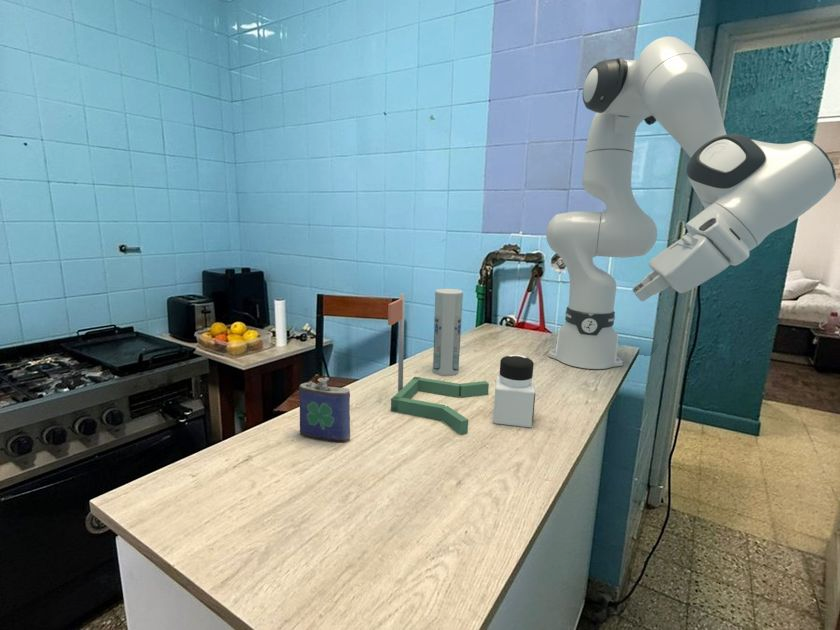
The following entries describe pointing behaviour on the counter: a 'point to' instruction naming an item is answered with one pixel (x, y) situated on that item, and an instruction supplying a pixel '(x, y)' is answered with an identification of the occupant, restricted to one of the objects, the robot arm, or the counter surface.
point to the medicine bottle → (514, 392)
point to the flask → (324, 412)
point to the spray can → (447, 331)
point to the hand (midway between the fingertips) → (636, 295)
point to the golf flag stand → (428, 385)
